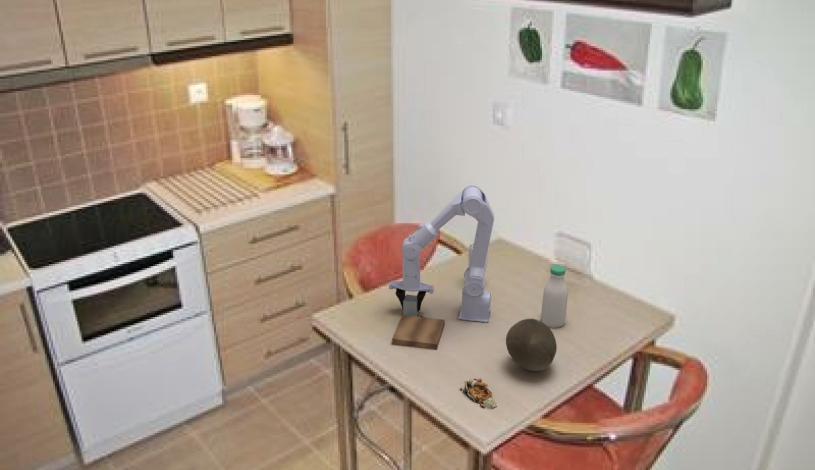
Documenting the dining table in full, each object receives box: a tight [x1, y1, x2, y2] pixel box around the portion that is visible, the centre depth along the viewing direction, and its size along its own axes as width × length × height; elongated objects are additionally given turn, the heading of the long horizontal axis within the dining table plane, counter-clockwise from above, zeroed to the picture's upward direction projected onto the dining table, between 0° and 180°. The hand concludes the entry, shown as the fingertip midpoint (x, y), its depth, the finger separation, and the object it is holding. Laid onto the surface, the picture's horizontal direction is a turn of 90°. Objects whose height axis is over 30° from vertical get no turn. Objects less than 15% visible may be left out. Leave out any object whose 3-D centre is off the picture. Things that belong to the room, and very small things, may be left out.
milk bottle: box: [540, 264, 569, 329], centre depth 222 cm, size 8×8×20 cm
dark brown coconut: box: [505, 318, 558, 372], centre depth 201 cm, size 14×14×15 cm
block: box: [402, 293, 419, 317], centre depth 230 cm, size 4×4×6 cm
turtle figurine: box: [458, 378, 498, 411], centre depth 192 cm, size 7×12×4 cm, turn 37°
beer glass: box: [467, 243, 489, 288], centre depth 245 cm, size 7×7×15 cm
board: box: [391, 314, 446, 350], centre depth 220 cm, size 14×14×2 cm
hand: (411, 309), depth 231 cm, fingers closed on block, 4 cm apart
